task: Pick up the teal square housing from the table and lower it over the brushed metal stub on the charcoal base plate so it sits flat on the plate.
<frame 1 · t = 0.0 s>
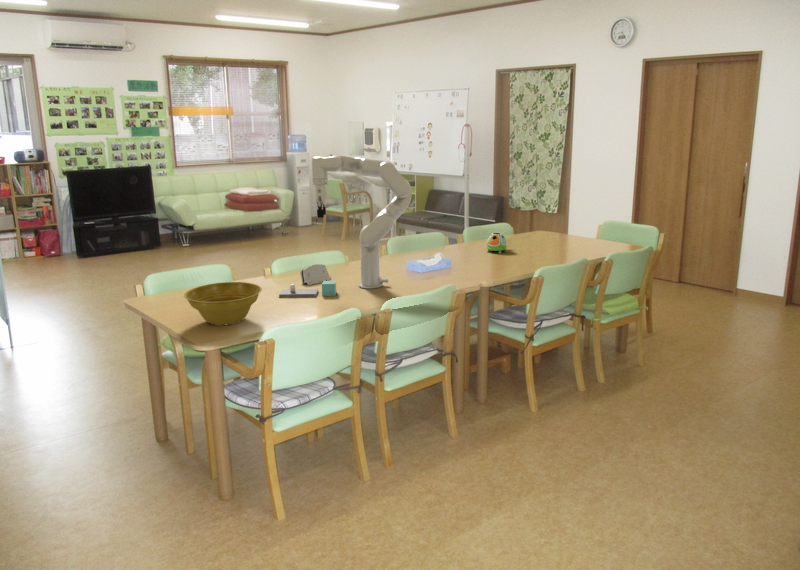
hand: (321, 216, 330), 37 cm above the table, tool pointing down, fingers open, 9 cm apart
housing: (329, 294, 324), on the table
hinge: (315, 281, 351), on the table
planter bowl: (225, 321, 283), on the table
base plate: (299, 294, 324), on the table
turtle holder: (496, 251, 422), on the table
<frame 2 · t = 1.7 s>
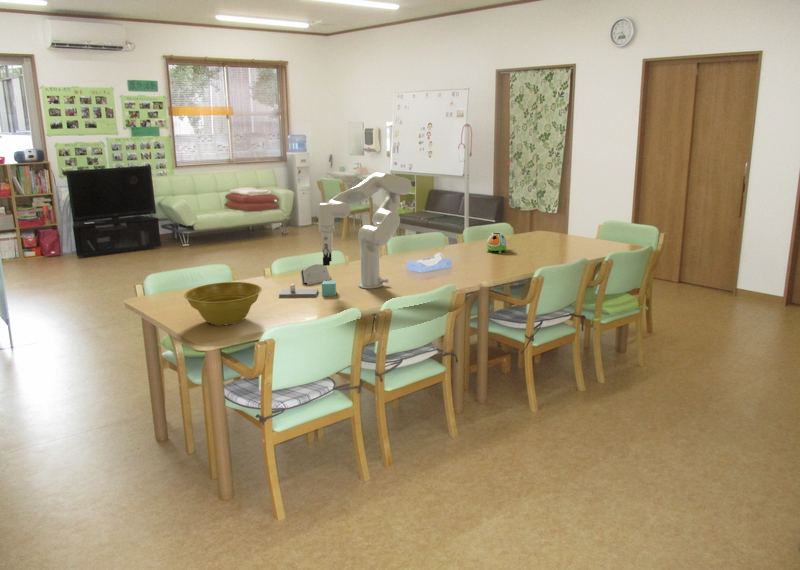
hand: (327, 263, 320), 16 cm above the table, tool pointing down, fingers open, 9 cm apart
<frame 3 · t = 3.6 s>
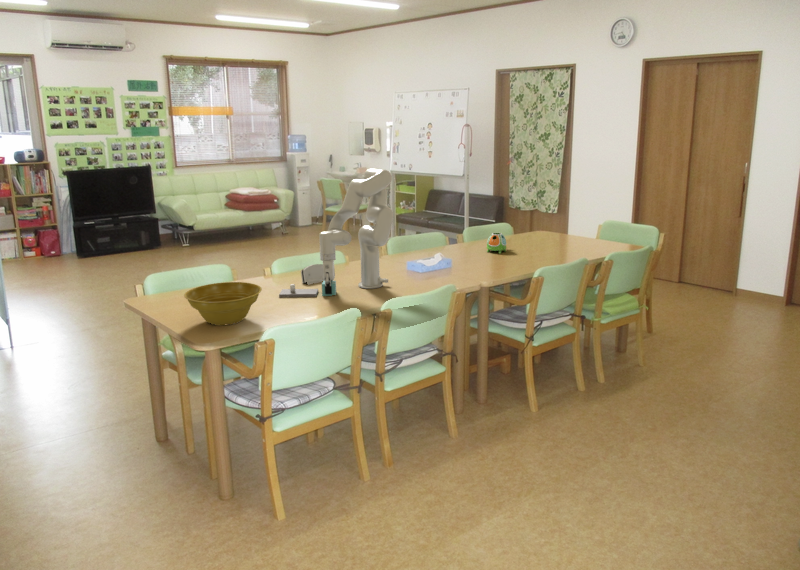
hand: (329, 291, 324), 1 cm above the table, tool pointing down, fingers closed on housing, 6 cm apart
housing: (329, 294, 324), on the table, touching gripper
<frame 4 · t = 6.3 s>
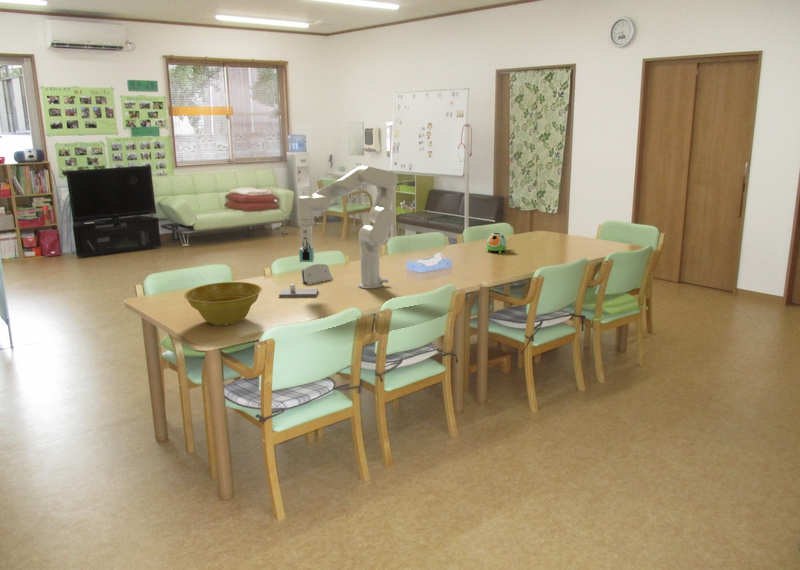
hand: (306, 258, 319), 18 cm above the table, tool pointing down, fingers closed on housing, 6 cm apart
housing: (307, 260, 320), point 17 cm above the table, touching gripper
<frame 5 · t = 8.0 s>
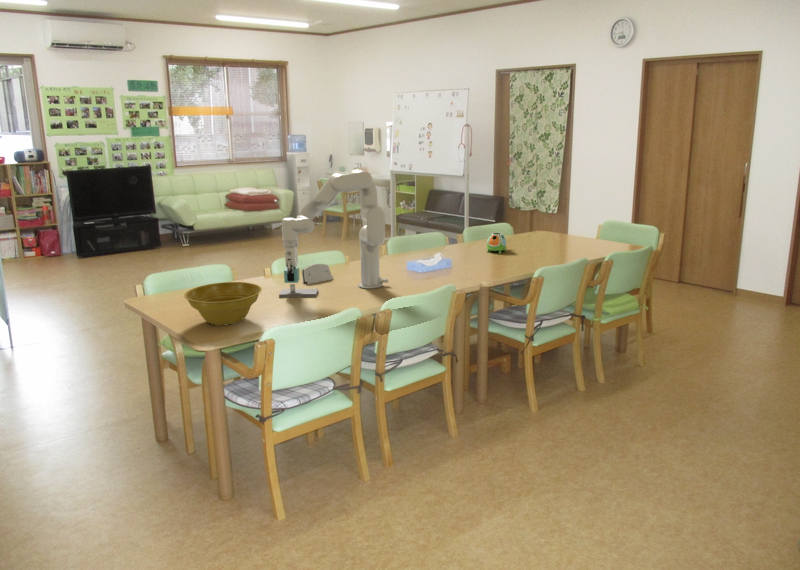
hand: (292, 279, 322), 8 cm above the table, tool pointing down, fingers closed on housing, 6 cm apart
housing: (292, 281, 322), point 7 cm above the table, touching gripper
when the fingers open (4 cm above the table, at t = 9.5 s): housing stays where it is, resting on base plate.
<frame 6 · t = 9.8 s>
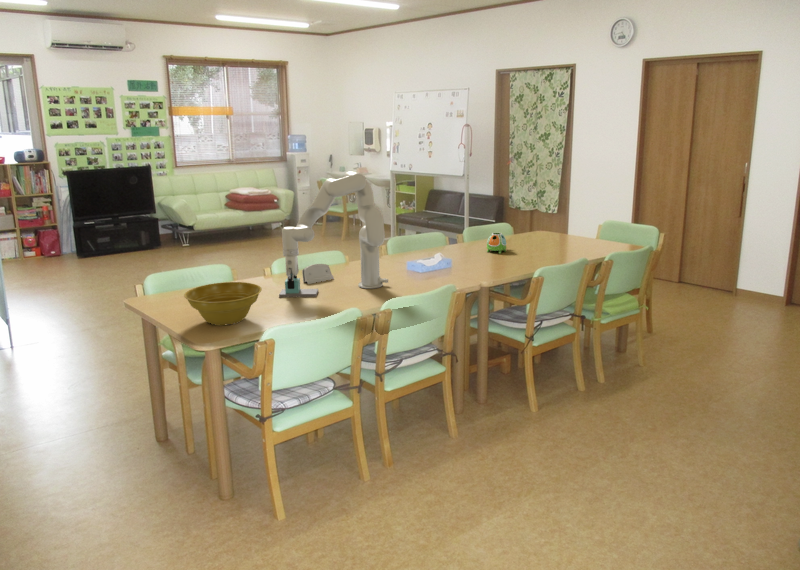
hand: (292, 286, 323), 4 cm above the table, tool pointing down, fingers open, 9 cm apart
housing: (293, 291, 324), point 1 cm above the table, touching base plate
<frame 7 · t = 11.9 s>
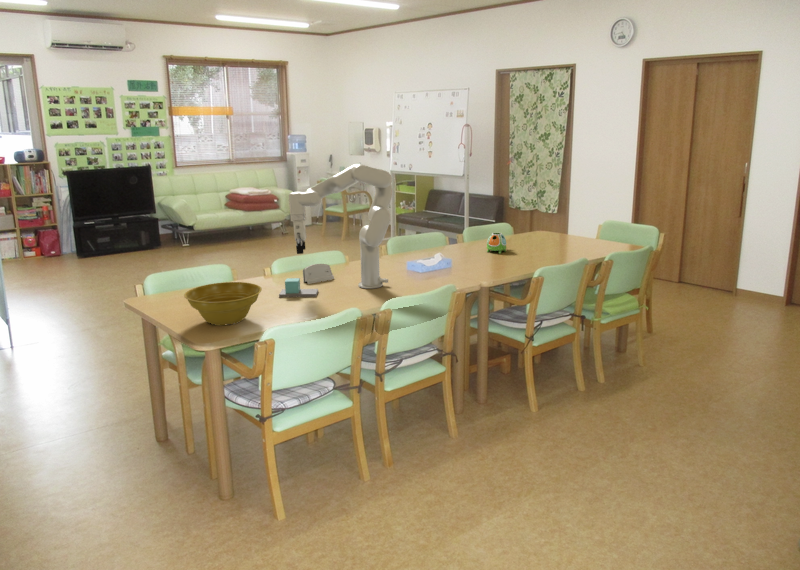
hand: (301, 251, 324), 20 cm above the table, tool pointing down, fingers open, 9 cm apart
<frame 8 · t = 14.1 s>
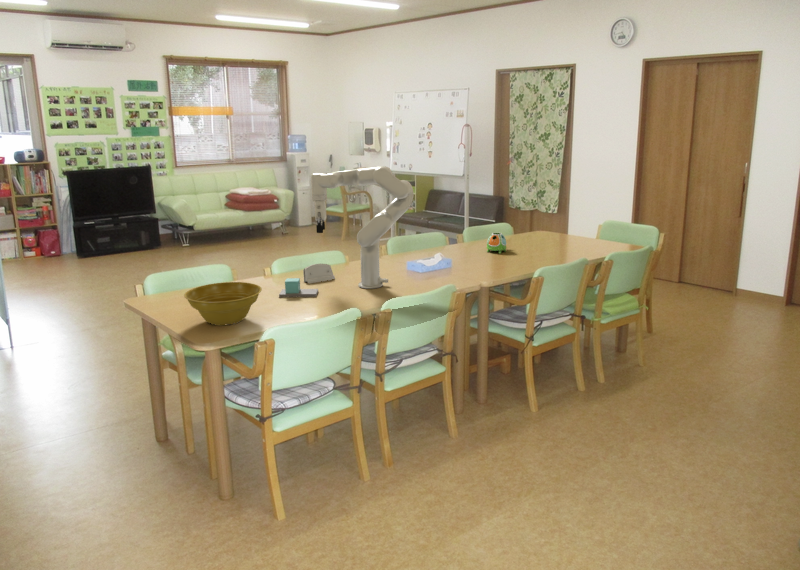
hand: (320, 231, 336), 28 cm above the table, tool pointing down, fingers open, 9 cm apart
at the end: housing 0.1 cm from the target spot on the base plate, point 1.5 cm above the base plate's base; housing tilted 0°; the gripper is holding nothing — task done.
